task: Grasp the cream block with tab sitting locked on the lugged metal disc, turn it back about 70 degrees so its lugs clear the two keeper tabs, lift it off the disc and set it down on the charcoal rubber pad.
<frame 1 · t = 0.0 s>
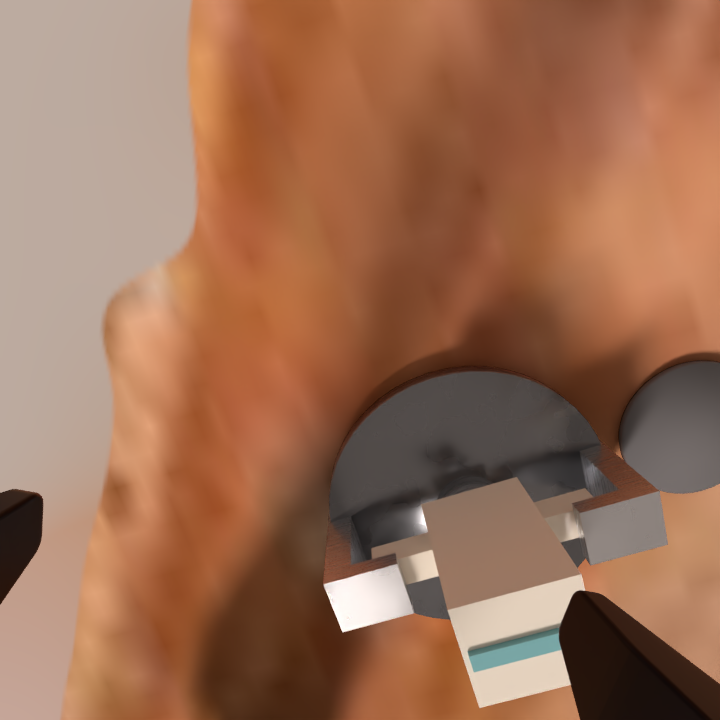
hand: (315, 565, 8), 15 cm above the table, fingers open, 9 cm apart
lugged metal disc: (464, 495, 24), on the table
rubber pad: (688, 427, 23), on the table
cream block with tab: (480, 531, 21), point 3 cm above the table, touching lugged metal disc
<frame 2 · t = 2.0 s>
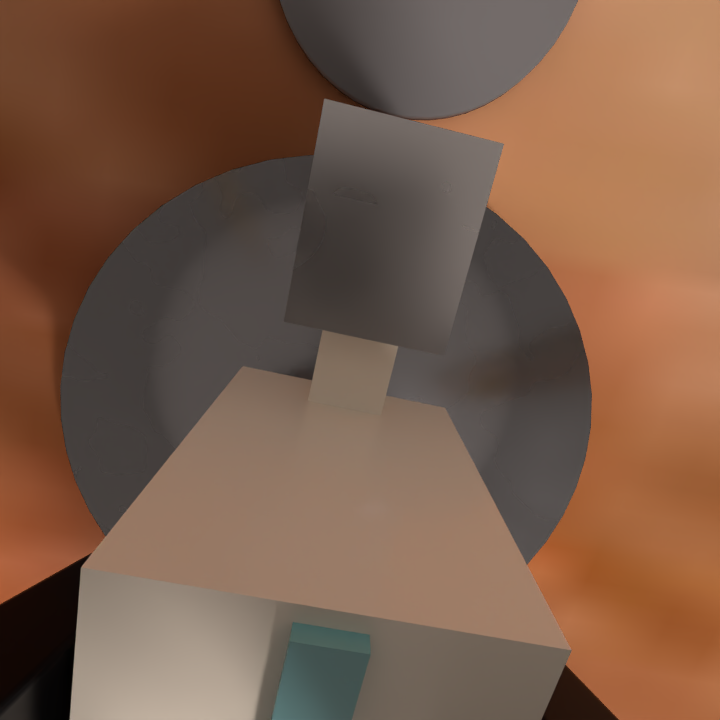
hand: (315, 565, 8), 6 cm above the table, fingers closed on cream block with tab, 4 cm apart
lugged metal disc: (330, 423, 13), on the table
cream block with tab: (324, 477, 10), point 3 cm above the table, touching lugged metal disc, gripper
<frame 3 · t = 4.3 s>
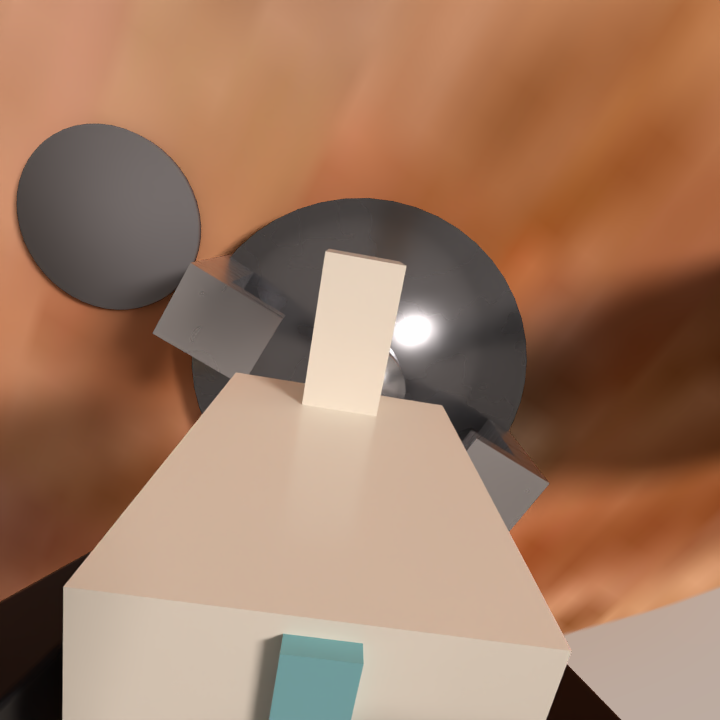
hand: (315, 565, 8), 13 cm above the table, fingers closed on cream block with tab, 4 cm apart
lugged metal disc: (359, 367, 20), on the table
rubber pad: (113, 221, 19), on the table
cream block with tab: (324, 481, 10), point 10 cm above the table, touching gripper
when the fingers open (4 cm above the table, at t = 6.7 s): cream block with tab drops 1 cm, resting on rubber pad.
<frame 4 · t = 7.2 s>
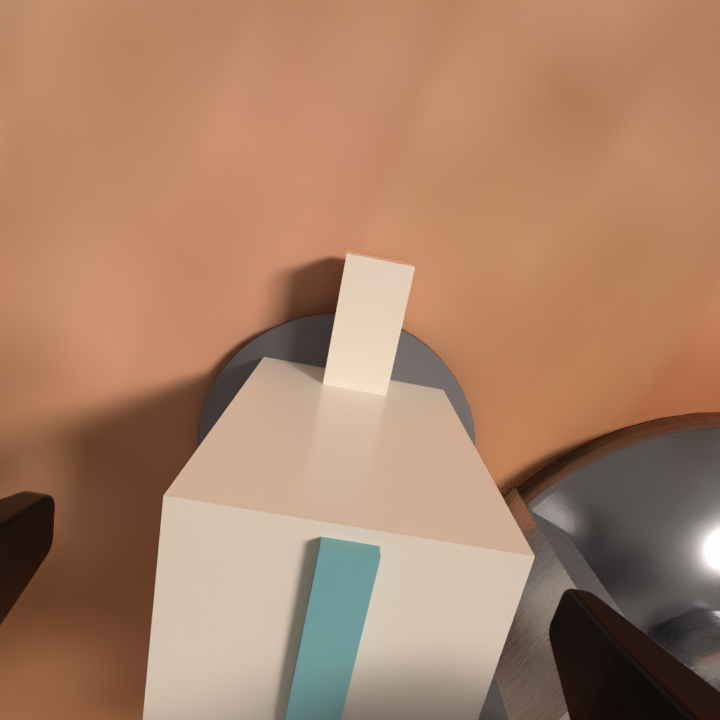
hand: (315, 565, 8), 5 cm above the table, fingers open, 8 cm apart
lugged metal disc: (673, 630, 14), on the table
rubber pad: (337, 445, 12), on the table
cream block with tab: (338, 454, 12), resting on rubber pad
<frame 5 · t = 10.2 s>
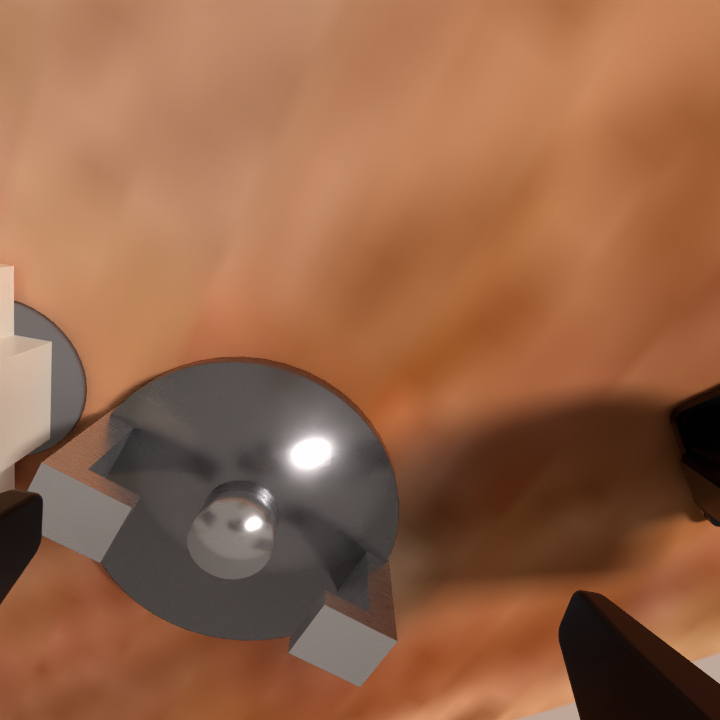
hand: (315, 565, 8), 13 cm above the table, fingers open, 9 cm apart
lugged metal disc: (246, 501, 22), on the table
rubber pad: (2, 378, 20), on the table
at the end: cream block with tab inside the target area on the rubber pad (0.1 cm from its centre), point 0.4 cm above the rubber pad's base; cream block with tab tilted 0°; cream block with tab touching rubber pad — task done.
